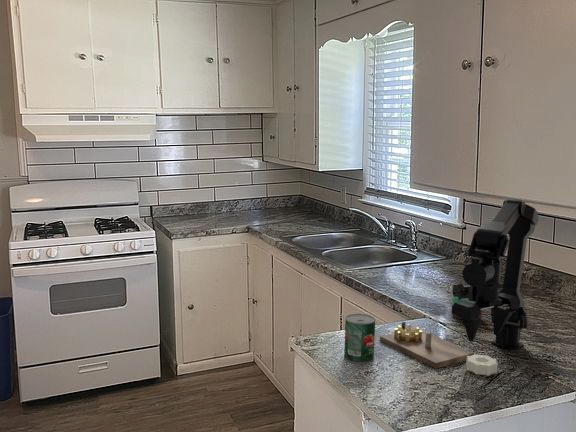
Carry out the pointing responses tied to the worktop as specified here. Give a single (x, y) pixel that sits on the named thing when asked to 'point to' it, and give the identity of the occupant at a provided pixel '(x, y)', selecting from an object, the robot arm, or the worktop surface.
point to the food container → (455, 299)
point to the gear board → (429, 349)
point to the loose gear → (481, 364)
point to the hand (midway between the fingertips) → (483, 338)
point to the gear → (407, 333)
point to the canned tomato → (359, 338)
